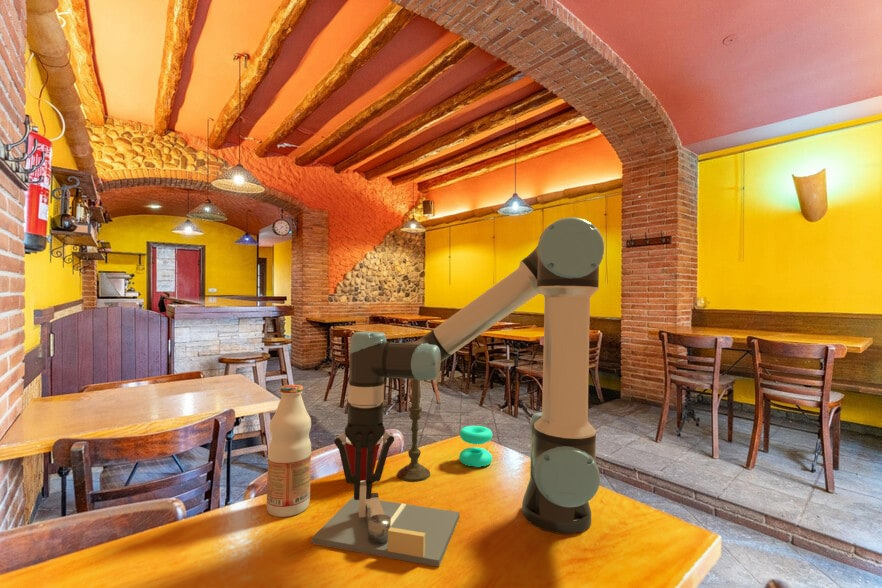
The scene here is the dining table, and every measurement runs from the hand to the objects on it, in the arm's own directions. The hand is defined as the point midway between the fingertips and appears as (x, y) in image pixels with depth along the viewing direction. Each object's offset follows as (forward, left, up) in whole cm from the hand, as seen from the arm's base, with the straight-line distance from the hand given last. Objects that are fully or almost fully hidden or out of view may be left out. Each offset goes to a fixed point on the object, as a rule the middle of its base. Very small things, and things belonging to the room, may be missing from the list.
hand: (362, 513), depth 88 cm
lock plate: (-6, 0, -3) cm, 7 cm away
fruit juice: (+20, -2, -3) cm, 20 cm away
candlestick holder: (-2, -28, -3) cm, 28 cm away
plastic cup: (+10, -20, -3) cm, 22 cm away
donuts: (-17, -42, -3) cm, 46 cm away
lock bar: (-4, +2, -1) cm, 4 cm away
